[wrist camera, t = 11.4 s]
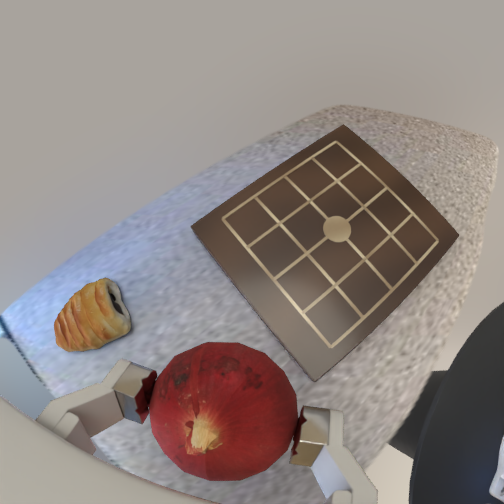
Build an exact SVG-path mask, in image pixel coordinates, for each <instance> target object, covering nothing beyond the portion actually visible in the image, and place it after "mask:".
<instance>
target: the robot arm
mask: <svg viewBox="0 0 504 504" xmlns="http://www.w3.org/2000/svg"><path fill="white" fill-rule="evenodd" d="M156 378H157V373H156V371H155V370H152V369H149V368H147V367H144V366H141V365H138V364H136V363H133V362H131V361H128V360H125V359H120V360H119V361H118V362H117V363H116V364H115V366H114V367H113V368H112V369H111V371H110V372H109V373H108V375H107V376H106V377H105V378H104V380H103V381H102V382H101V384H98V383H96V384H94V385H91V386H88V387H86V388H83V389H81V390H78V391H75V392H73V393H70V394H68V395H65V396H62V397H60V398H57V399H54V400H52V401H51V402H50V403H49V404H48V405H47V407H46V408H45V409H44V410H43V411H42V413H41V414H40V415H39V416H38V418H37V419H36V420H33V419H32V418H31V417H29V416H28V415H26V414H25V413H23V412H22V411H21V410H20V409H18V408H17V407H16V406H14V405H13V404H12V403H10V402H9V401H8V400H6V399H5V398H4V397H3V396H1V395H0V504H220V503H216V502H212V501H208V500H205V499H201V498H198V497H194V496H191V495H188V494H185V493H182V492H179V491H176V490H173V489H170V488H167V487H164V486H161V485H159V484H156V483H153V482H151V481H148V480H146V479H143V478H141V477H138V476H136V475H134V474H131V473H129V472H127V471H124V470H122V469H120V468H118V467H116V466H114V465H111V464H109V463H107V462H105V461H103V460H101V459H99V458H97V457H95V456H93V454H94V452H95V451H96V448H95V446H94V444H93V442H92V440H91V439H90V438H91V437H92V436H94V435H96V434H98V433H100V432H101V431H103V430H105V429H107V428H109V427H110V426H112V425H114V424H116V423H117V422H119V421H121V420H122V419H124V418H126V419H129V420H132V421H134V422H137V423H140V424H143V423H144V421H145V419H146V417H147V416H148V414H149V409H148V407H149V404H150V400H151V396H152V393H153V389H154V385H155V382H156ZM343 440H344V413H343V411H340V410H331V409H330V410H329V409H325V408H317V407H309V406H303V407H302V409H301V413H300V417H299V418H298V422H297V427H296V430H295V433H294V436H293V441H294V444H293V446H292V449H291V455H290V461H289V463H290V464H296V465H302V466H309V467H311V469H312V471H313V474H314V476H315V478H316V480H317V482H318V484H319V486H320V488H321V490H322V492H323V494H324V496H325V498H326V501H325V502H324V503H323V504H377V489H376V488H375V486H374V485H373V483H372V482H371V481H370V479H369V478H368V476H367V475H366V474H365V472H364V471H363V469H362V468H361V466H360V465H359V464H358V462H357V461H356V459H355V458H354V456H353V455H352V454H351V452H350V451H349V449H348V448H347V447H343ZM489 493H490V494H491V495H492V496H494V497H496V498H497V499H499V500H501V501H502V502H504V436H503V439H502V443H501V447H500V452H499V460H498V467H497V472H496V474H495V476H494V479H493V481H492V483H491V486H490V489H489Z"/></svg>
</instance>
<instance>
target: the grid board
mask: <svg viewBox="0 0 504 504" xmlns="http://www.w3.org/2000/svg"><path fill="white" fill-rule="evenodd" d="M191 228H192V230H193V232H194V233H195V235H196V236H197V237H198V239H199V240H200V241H201V243H202V244H203V245H204V246H205V248H206V249H207V250H208V252H209V253H210V254H211V256H212V257H213V258H214V259H215V261H216V262H217V263H218V265H219V266H220V267H221V268H222V270H223V271H224V272H225V274H226V275H227V276H228V277H229V279H230V280H231V281H232V283H233V284H234V285H235V286H236V288H237V289H238V290H239V291H240V293H241V294H242V295H243V296H244V298H245V299H246V300H247V302H248V303H249V304H250V305H251V307H252V308H253V309H254V310H255V312H256V313H257V314H258V315H259V317H260V318H261V319H262V320H263V321H264V323H265V324H266V325H267V326H268V328H269V329H270V330H271V331H272V333H273V334H274V335H275V336H276V337H277V339H278V340H279V341H280V342H281V344H282V345H283V346H284V347H285V348H286V350H287V351H288V352H289V353H290V355H291V356H292V357H293V358H294V359H295V361H296V362H297V363H298V364H299V365H300V367H301V368H302V369H303V370H304V371H305V373H306V374H307V375H308V376H309V377H310V379H311V380H312V381H314V382H316V381H317V380H318V379H319V378H320V377H322V376H323V375H324V374H325V373H326V372H328V371H329V370H330V369H331V368H332V367H334V366H335V365H336V364H337V363H338V362H339V361H340V360H342V359H343V358H344V357H345V356H346V355H347V354H348V353H349V352H351V351H352V350H353V349H354V348H355V347H356V346H357V345H358V344H359V343H360V342H362V341H363V340H364V339H365V338H366V337H367V336H368V335H369V334H370V333H371V332H372V331H373V330H374V329H375V328H376V327H377V326H378V325H379V324H380V323H381V322H382V321H383V320H384V319H385V318H386V317H387V316H388V315H389V314H390V313H391V312H392V311H393V310H394V309H395V308H396V307H397V306H398V305H399V304H400V303H401V302H402V301H403V300H404V299H405V298H406V297H407V296H408V295H409V294H410V293H411V292H412V290H413V289H414V288H415V287H416V286H417V285H418V284H419V283H420V282H421V281H422V280H423V278H424V277H425V276H426V275H427V274H428V273H429V272H430V270H431V269H432V268H433V267H434V266H435V265H436V263H437V262H438V261H439V260H440V259H441V258H442V256H443V255H444V254H445V253H446V252H447V250H448V249H449V248H450V247H451V245H452V244H453V243H454V242H455V240H456V239H457V238H458V237H459V234H458V233H457V232H456V231H455V229H454V228H453V227H452V226H451V225H450V224H449V223H448V222H447V220H446V219H445V218H444V217H443V216H442V215H441V214H440V213H439V212H438V211H437V210H436V209H435V208H434V206H433V205H432V204H431V203H430V202H429V201H428V200H427V199H426V198H425V197H424V196H423V195H422V194H421V193H420V192H419V191H418V190H417V189H416V188H415V187H414V186H413V185H412V184H411V183H410V182H409V181H408V180H407V179H406V178H405V177H404V176H403V175H402V174H400V173H399V172H398V171H397V170H396V169H395V168H394V167H393V166H392V165H391V164H390V163H389V162H388V161H386V160H385V159H384V158H383V157H382V156H381V155H380V154H379V153H377V152H376V151H375V150H374V149H373V148H372V147H370V146H369V145H368V144H367V143H366V142H365V141H363V140H362V139H361V138H360V137H359V136H357V135H356V134H355V133H354V132H353V131H351V130H350V129H349V128H348V127H346V126H345V125H344V124H343V125H342V126H340V127H338V128H337V129H335V130H334V131H332V132H330V133H329V134H327V135H325V136H324V137H322V138H321V139H319V140H317V141H316V142H314V143H313V144H311V145H310V146H308V147H306V148H305V149H303V150H302V151H300V152H299V153H297V154H295V155H294V156H292V157H291V158H289V159H288V160H286V161H285V162H283V163H282V164H280V165H279V166H277V167H275V168H274V169H272V170H271V171H269V172H268V173H266V174H265V175H263V176H262V177H260V178H259V179H257V180H256V181H255V182H253V183H252V184H250V185H249V186H247V187H246V188H244V189H243V190H241V191H240V192H238V193H237V194H235V195H234V196H233V197H231V198H230V199H228V200H227V201H225V202H224V203H223V204H221V205H220V206H218V207H217V208H215V209H214V210H213V211H211V212H210V213H208V214H207V215H206V216H204V217H203V218H201V219H200V220H199V221H197V222H196V223H194V224H193V225H192V226H191Z"/></svg>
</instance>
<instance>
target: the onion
mask: <svg viewBox="0 0 504 504" xmlns="http://www.w3.org/2000/svg"><path fill="white" fill-rule="evenodd" d="M149 412H150V420H151V428H152V433H153V435H154V437H155V438H156V440H157V442H158V443H159V445H160V447H161V449H162V450H163V452H164V454H165V455H167V456H168V457H169V458H170V459H171V460H172V461H173V462H174V463H175V464H176V465H177V466H178V467H179V468H180V469H181V470H183V471H184V472H186V473H189V474H191V475H194V476H197V477H200V478H203V479H206V480H209V481H236V480H243V479H245V478H248V477H250V476H253V475H255V474H258V473H260V472H262V471H265V470H267V469H268V468H269V467H270V466H271V465H272V464H273V463H274V462H275V461H277V460H278V459H279V458H280V457H281V456H282V455H283V454H284V453H285V452H286V451H287V450H288V447H289V445H290V443H291V440H292V438H293V435H294V433H295V430H296V427H297V422H298V412H297V398H296V393H295V391H294V389H293V388H292V386H291V384H290V382H289V380H288V378H287V376H286V374H285V372H284V371H283V370H282V369H281V368H280V367H279V366H278V365H277V364H276V363H274V362H273V361H272V360H271V359H270V358H269V357H268V356H267V355H266V354H265V353H263V352H260V351H258V350H255V349H253V348H250V347H248V346H245V345H243V344H240V343H225V342H207V343H203V344H201V345H199V346H197V347H194V348H192V349H190V350H187V351H185V352H183V353H180V354H178V355H176V356H175V357H174V358H173V359H172V360H171V361H170V363H169V364H168V365H167V366H166V368H165V369H164V370H163V371H162V373H161V374H160V375H159V376H158V378H157V380H156V382H155V385H154V389H153V393H152V396H151V400H150V404H149Z"/></svg>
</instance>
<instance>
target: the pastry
mask: <svg viewBox="0 0 504 504" xmlns="http://www.w3.org/2000/svg"><path fill="white" fill-rule="evenodd" d="M130 328H131V321H130V317H129V313H128V311H127V309H126V308H125V305H124V304H123V302H122V301H121V294H120V291H119V288H118V286H117V285H116V284H115V283H114V282H113V281H112V280H110V279H108V278H103V279H99V280H98V281H96V282H93V283H89V284H86V285H85V286H84V287H83V288H82V289H81V290H79V291H78V292H76V293H75V294H74V295H73V296H72V297H71V298H70V299H69V301H68V302H67V303H66V305H65V306H64V308H63V309H62V310H61V312H60V313H59V314H58V317H57V319H56V320H55V323H54V330H55V336H56V344H57V345H58V346H59V347H61V348H62V349H64V350H66V351H68V352H72V351H86V350H90V349H99V348H101V347H102V346H103V345H104V344H106V343H108V342H111V341H113V340H116V339H117V338H119V337H122V336H123V335H125V334H127V333H128V332H129V331H130Z"/></svg>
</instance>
